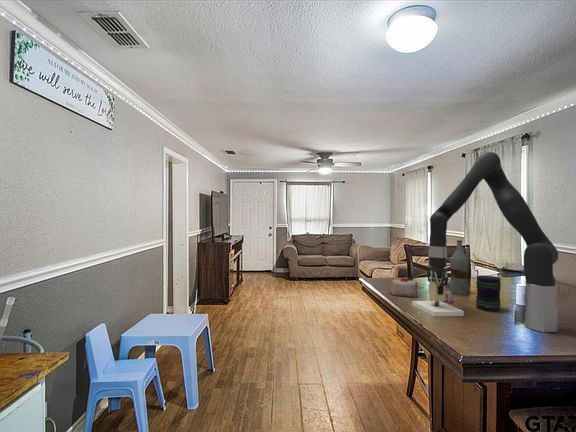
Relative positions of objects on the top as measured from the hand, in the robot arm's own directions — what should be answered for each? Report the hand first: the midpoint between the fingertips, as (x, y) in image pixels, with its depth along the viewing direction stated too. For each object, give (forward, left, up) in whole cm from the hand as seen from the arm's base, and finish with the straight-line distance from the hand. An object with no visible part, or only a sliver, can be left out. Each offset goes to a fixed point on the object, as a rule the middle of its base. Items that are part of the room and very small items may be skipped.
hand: (436, 293), depth 152 cm
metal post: (0, 0, -6) cm, 6 cm away
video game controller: (+16, -13, -8) cm, 22 cm away
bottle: (+31, -33, -8) cm, 46 cm away
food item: (+29, +1, -8) cm, 30 cm away
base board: (0, 0, -8) cm, 8 cm away
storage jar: (0, -26, -8) cm, 27 cm away
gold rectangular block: (0, 0, -3) cm, 3 cm away
